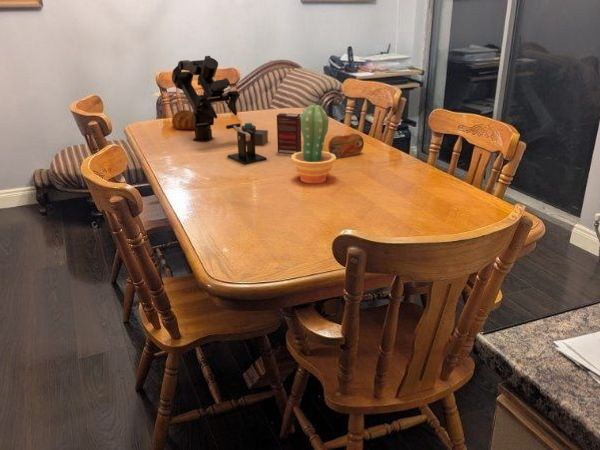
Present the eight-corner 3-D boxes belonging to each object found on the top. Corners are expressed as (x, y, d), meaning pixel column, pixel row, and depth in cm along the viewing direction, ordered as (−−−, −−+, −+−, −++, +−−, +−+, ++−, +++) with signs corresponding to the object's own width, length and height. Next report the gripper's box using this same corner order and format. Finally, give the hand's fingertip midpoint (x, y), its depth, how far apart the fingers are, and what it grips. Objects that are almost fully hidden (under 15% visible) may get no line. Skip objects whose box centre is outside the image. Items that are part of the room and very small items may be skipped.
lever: (225, 129, 203) (226, 123, 202) (239, 127, 207) (239, 121, 205) (240, 142, 197) (241, 136, 196) (254, 139, 200) (255, 134, 199)
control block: (239, 144, 221) (238, 128, 219) (245, 140, 228) (244, 124, 225) (262, 146, 219) (261, 130, 216) (268, 142, 225) (267, 126, 222)
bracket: (227, 158, 204) (226, 130, 199) (249, 153, 210) (248, 126, 205) (244, 165, 195) (243, 137, 191) (266, 160, 201) (265, 132, 197)
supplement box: (301, 153, 209) (301, 113, 203) (297, 157, 205) (297, 116, 199) (281, 151, 212) (280, 112, 206) (277, 155, 208) (276, 114, 201)
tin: (331, 159, 202) (331, 137, 199) (326, 157, 205) (327, 135, 201) (363, 154, 209) (364, 133, 205) (359, 152, 211) (360, 131, 208)
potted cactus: (337, 173, 187) (339, 102, 177) (333, 187, 173) (335, 111, 163) (295, 170, 189) (294, 100, 179) (287, 185, 175) (286, 110, 165)
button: (243, 128, 221) (243, 123, 220) (246, 126, 224) (246, 122, 223) (250, 128, 220) (250, 124, 219) (253, 126, 223) (253, 122, 222)
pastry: (206, 129, 246) (205, 112, 243) (180, 132, 240) (178, 115, 236) (190, 120, 262) (188, 104, 259) (164, 124, 256) (163, 107, 252)
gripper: (194, 73, 200) (212, 105, 196) (235, 69, 212) (253, 100, 208) (186, 93, 209) (203, 124, 205) (226, 88, 220) (243, 118, 216)
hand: (226, 116), depth 208 cm, fingers open, 9 cm apart
